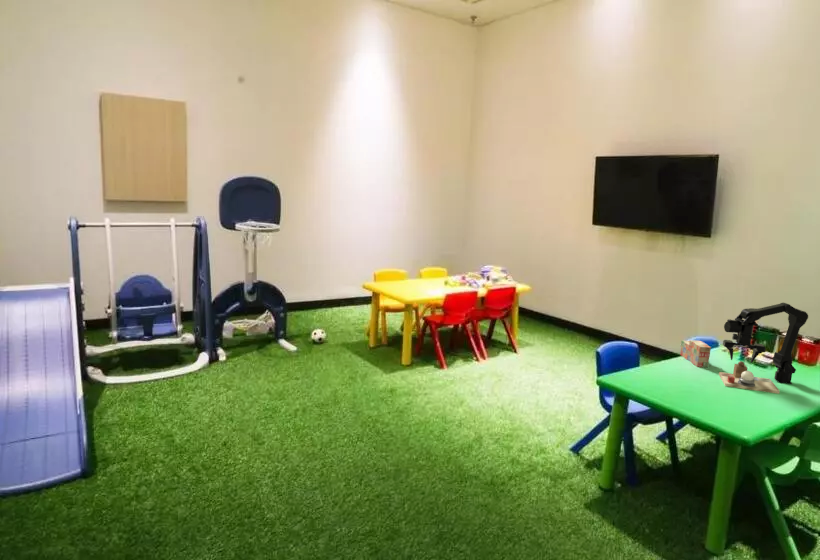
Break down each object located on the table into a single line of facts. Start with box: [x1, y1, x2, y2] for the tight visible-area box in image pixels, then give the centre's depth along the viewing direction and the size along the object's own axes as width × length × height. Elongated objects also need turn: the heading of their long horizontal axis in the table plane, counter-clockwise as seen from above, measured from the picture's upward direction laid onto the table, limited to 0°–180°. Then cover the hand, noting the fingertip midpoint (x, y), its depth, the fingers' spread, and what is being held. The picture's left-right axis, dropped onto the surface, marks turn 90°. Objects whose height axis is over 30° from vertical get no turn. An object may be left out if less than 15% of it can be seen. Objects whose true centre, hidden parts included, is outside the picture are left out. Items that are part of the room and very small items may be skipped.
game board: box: [718, 371, 781, 395], centre depth 282 cm, size 24×18×4 cm
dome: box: [739, 370, 755, 384], centre depth 277 cm, size 7×7×6 cm
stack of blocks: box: [679, 339, 712, 368], centre depth 316 cm, size 21×6×12 cm, turn 179°
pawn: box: [732, 360, 748, 378], centre depth 288 cm, size 5×5×8 cm
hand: (741, 361), depth 287 cm, fingers open, 9 cm apart
